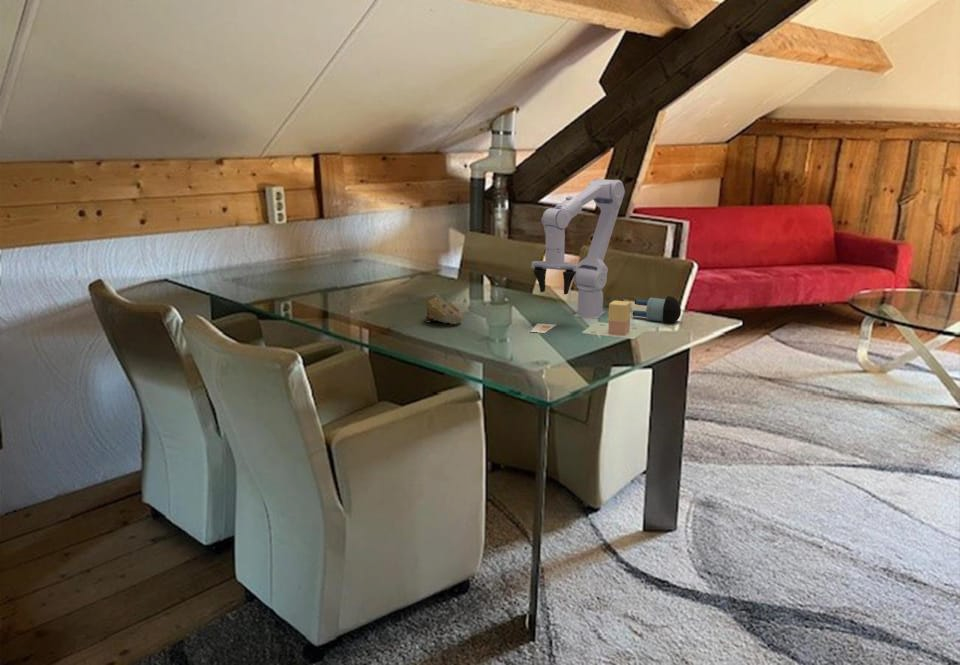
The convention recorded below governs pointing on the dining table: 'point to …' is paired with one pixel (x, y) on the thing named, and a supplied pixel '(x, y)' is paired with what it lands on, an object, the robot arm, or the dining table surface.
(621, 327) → the terracotta brick
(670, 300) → the toy
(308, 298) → the dining table surface
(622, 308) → the ochre brick
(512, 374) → the dining table surface
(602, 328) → the plate
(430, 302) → the seashell
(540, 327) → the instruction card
